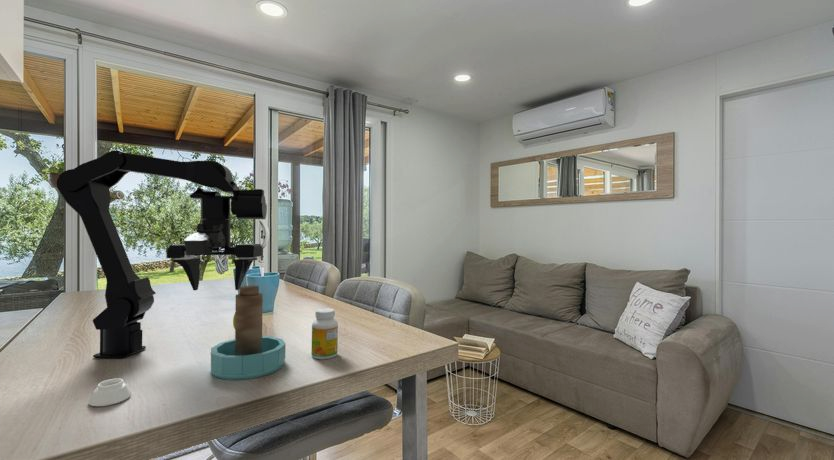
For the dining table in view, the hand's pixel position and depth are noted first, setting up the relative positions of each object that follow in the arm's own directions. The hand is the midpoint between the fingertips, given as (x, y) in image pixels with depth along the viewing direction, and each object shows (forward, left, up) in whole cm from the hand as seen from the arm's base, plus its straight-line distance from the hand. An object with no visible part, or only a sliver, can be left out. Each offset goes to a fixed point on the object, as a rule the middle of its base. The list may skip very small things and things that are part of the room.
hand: (216, 290), depth 83 cm
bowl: (+12, -10, -13) cm, 20 cm away
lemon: (+2, +10, -13) cm, 17 cm away
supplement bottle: (+25, -3, -13) cm, 28 cm away
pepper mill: (+12, -10, -12) cm, 20 cm away
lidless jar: (-3, -25, -14) cm, 28 cm away
